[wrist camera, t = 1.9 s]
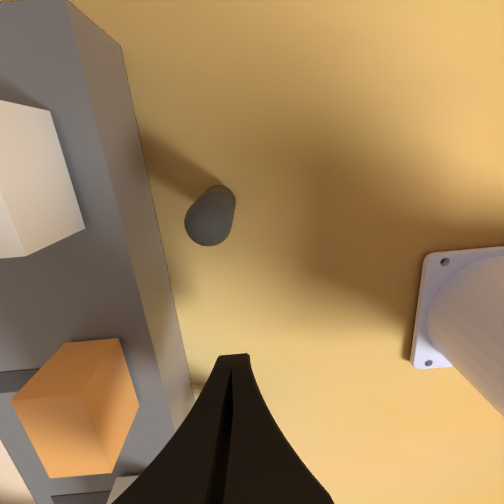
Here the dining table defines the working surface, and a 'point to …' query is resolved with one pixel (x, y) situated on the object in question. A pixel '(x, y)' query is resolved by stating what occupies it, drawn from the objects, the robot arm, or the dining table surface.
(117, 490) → the paddle
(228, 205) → the cord posts
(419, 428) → the dining table surface
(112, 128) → the breaker panel
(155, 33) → the dining table surface
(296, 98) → the dining table surface
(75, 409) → the orange block
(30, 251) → the paddle
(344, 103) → the dining table surface
